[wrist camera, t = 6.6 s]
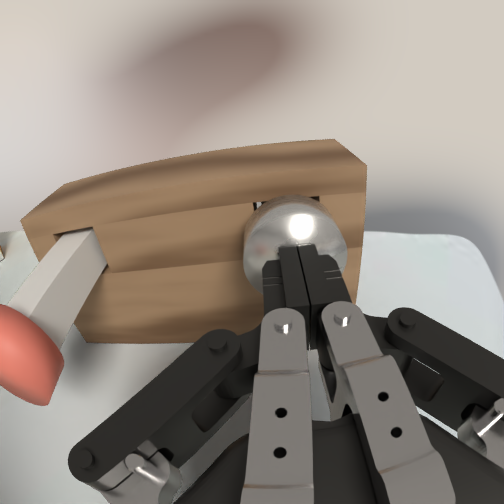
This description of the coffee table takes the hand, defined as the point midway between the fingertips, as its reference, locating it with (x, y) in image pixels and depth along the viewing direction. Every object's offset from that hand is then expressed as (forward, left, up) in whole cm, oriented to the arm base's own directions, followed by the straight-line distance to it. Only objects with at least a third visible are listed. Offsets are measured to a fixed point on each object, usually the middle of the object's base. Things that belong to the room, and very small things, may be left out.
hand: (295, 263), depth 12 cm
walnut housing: (-8, +2, -8) cm, 12 cm away
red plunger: (-10, -6, -2) cm, 12 cm away
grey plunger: (-3, +5, -2) cm, 6 cm away
